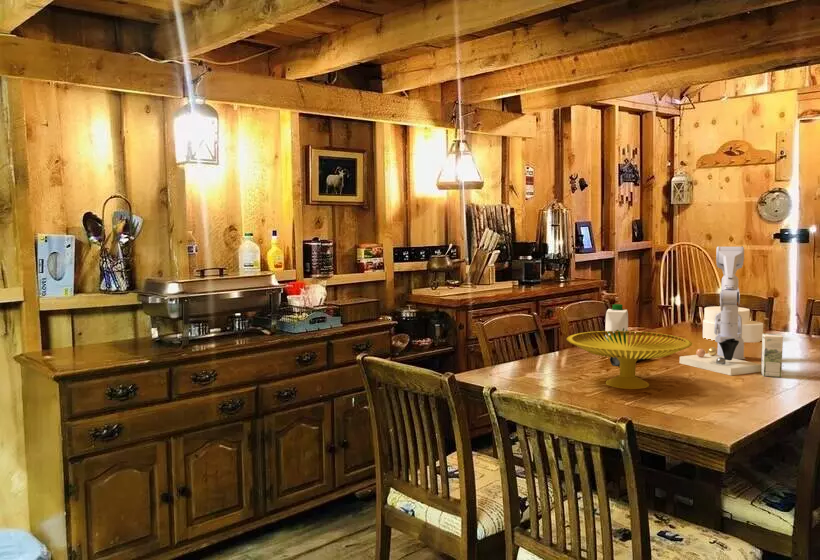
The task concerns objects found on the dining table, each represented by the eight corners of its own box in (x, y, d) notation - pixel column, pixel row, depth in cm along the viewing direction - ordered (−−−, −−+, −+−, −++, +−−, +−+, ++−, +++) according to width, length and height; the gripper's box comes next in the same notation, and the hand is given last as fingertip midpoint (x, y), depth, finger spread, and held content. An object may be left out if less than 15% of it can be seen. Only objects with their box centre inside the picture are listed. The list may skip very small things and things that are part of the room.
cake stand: (678, 405, 207) (679, 355, 206) (548, 389, 228) (548, 344, 227) (702, 378, 241) (703, 335, 240) (587, 366, 262) (587, 327, 261)
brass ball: (712, 354, 270) (712, 346, 270) (718, 355, 267) (719, 347, 267) (706, 355, 269) (706, 347, 269) (712, 356, 266) (712, 348, 266)
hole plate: (708, 359, 273) (709, 353, 273) (761, 371, 251) (761, 364, 251) (679, 363, 267) (679, 356, 267) (730, 375, 245) (730, 368, 245)
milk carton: (628, 352, 290) (629, 304, 288) (626, 356, 282) (627, 307, 280) (606, 351, 293) (607, 303, 292) (604, 354, 285) (604, 306, 283)
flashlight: (609, 365, 265) (609, 352, 265) (642, 358, 278) (642, 346, 277) (620, 367, 261) (620, 354, 261) (653, 360, 274) (653, 348, 273)
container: (760, 344, 304) (761, 313, 303) (699, 340, 317) (699, 310, 316) (764, 337, 321) (765, 308, 320) (706, 333, 334) (707, 305, 333)
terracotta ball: (700, 355, 268) (700, 347, 268) (707, 357, 265) (707, 349, 265) (694, 356, 267) (694, 348, 266) (700, 358, 264) (700, 349, 263)
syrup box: (778, 374, 246) (780, 333, 245) (781, 377, 241) (783, 336, 240) (760, 373, 248) (762, 332, 247) (763, 376, 243) (764, 335, 241)
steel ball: (716, 360, 252) (718, 368, 253) (725, 358, 251) (727, 366, 252) (714, 356, 255) (716, 364, 256) (723, 355, 254) (725, 362, 255)
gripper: (729, 319, 261) (728, 355, 262) (707, 323, 253) (706, 360, 254) (747, 321, 256) (746, 358, 257) (726, 325, 247) (725, 363, 248)
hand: (728, 359), depth 255 cm, fingers closed
